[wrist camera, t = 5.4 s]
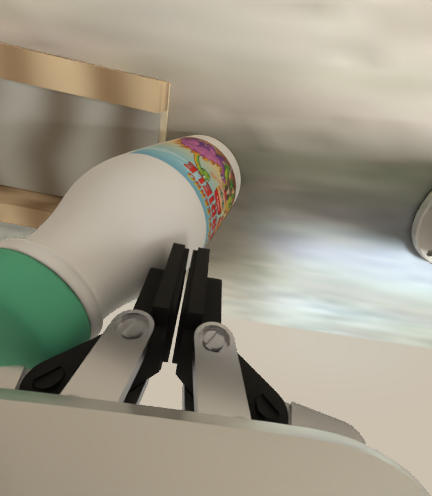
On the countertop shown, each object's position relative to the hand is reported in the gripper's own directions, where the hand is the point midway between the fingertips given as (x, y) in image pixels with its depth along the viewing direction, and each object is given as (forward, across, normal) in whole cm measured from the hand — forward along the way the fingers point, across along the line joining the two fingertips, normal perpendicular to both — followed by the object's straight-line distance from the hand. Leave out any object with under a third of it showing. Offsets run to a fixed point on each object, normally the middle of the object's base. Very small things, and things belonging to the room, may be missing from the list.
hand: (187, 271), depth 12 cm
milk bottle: (+15, 0, 0) cm, 15 cm away
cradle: (+16, +14, 0) cm, 21 cm away
